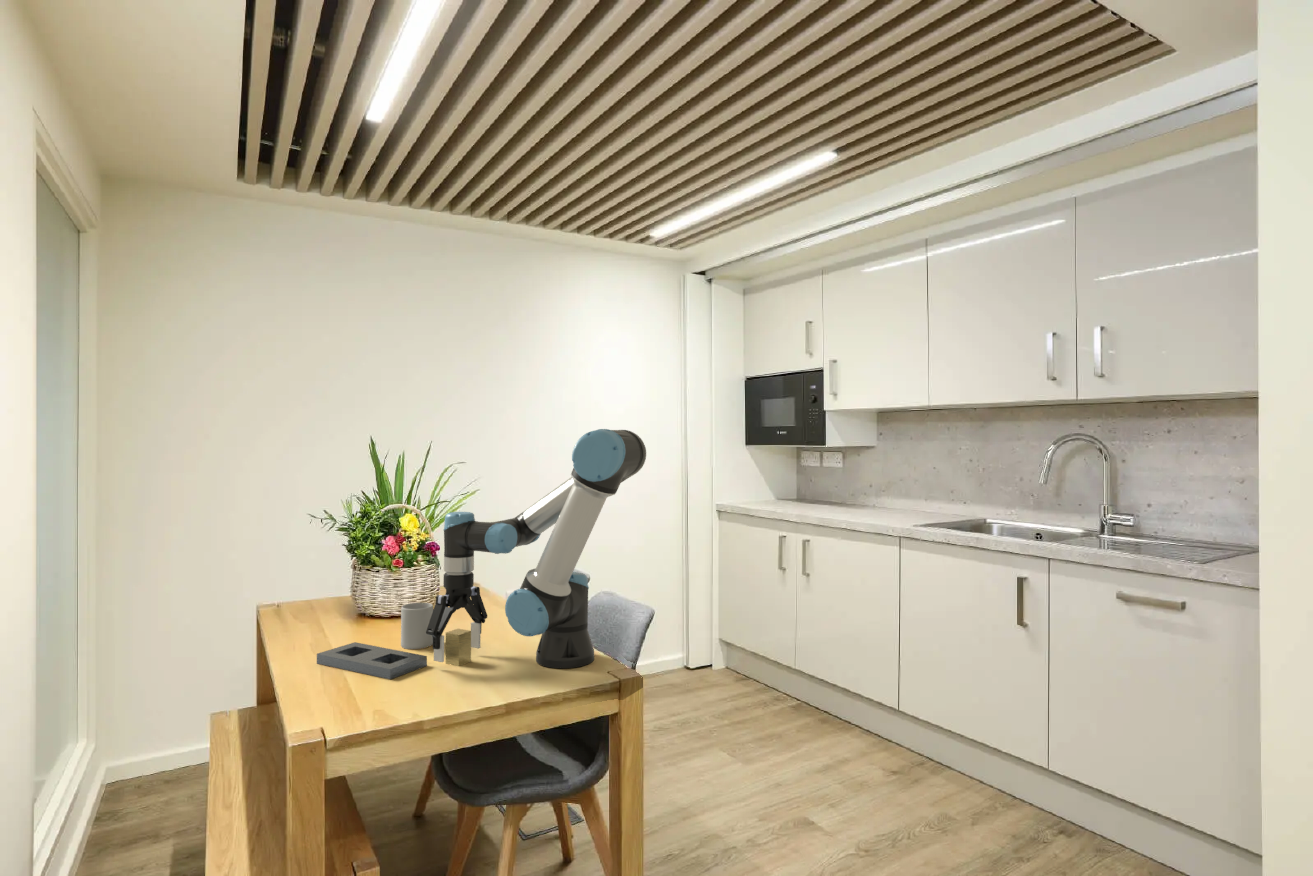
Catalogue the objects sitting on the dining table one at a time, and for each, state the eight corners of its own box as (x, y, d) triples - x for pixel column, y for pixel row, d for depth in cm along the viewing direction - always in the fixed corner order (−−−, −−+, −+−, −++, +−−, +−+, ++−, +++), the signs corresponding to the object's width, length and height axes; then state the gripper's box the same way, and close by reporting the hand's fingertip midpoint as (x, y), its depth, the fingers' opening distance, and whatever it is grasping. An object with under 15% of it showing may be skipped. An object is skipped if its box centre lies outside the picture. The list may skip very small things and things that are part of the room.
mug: (403, 651, 204) (403, 610, 204) (398, 643, 211) (398, 604, 211) (448, 645, 209) (448, 606, 209) (441, 638, 217) (442, 600, 217)
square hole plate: (426, 665, 191) (426, 656, 191) (390, 679, 180) (390, 669, 180) (354, 651, 203) (355, 642, 203) (316, 663, 192) (316, 653, 192)
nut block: (470, 661, 195) (471, 630, 195) (458, 666, 191) (459, 635, 191) (457, 659, 197) (457, 628, 197) (445, 663, 193) (445, 632, 193)
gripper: (479, 563, 207) (478, 640, 207) (411, 578, 184) (410, 664, 185) (501, 566, 203) (500, 644, 203) (434, 582, 181) (433, 669, 181)
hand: (457, 654), depth 194 cm, fingers open, 13 cm apart
